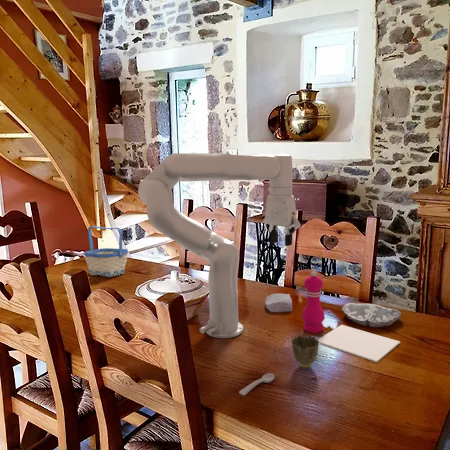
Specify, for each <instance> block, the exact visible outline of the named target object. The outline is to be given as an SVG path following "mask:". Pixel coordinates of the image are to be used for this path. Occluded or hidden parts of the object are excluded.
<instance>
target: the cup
mask: <svg viewBox="0 0 450 450" xmlns="http://www.w3.org/2000/svg"><path fill="white" fill-rule="evenodd" d="M318 339H319V338H316V336H311V335H308V337H305V335H304V334H303V335H300V334H298V335H297V336H294V337H292V339H291V347H292V353H293V354H292V355H293V357H294V360H295V361H296V362H297V363H298V366H299V367H300V368H301V369H302V370H309V369H310V368H312V365H313V363H314V362H315V361H316V359H317V357H318V351H319V345H320V344H319V341H318Z"/></svg>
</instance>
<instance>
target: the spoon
mask: <svg viewBox="0 0 450 450" xmlns="http://www.w3.org/2000/svg"><path fill="white" fill-rule="evenodd" d="M274 380H275V374H274V373H272V372H268V373H265V374H263V375H262V376H261V378H259V379H257V380H254V381H253V382H251V383H250V384H248V385H247V386H245V387H244V388H242V389H240V390H239V391H238V393H239V395H241V396H246V395H247V394H248V393H249V392H250V391H251V390H253V389H254V388H256V386H257V385H259V384H261V383H268V384H269V383H271V382H273V381H274Z"/></svg>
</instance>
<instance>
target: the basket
mask: <svg viewBox="0 0 450 450" xmlns="http://www.w3.org/2000/svg"><path fill="white" fill-rule="evenodd" d="M92 228H94V229H99V230H100V229H101V230H116V231H118V232H119V239H118V242H119V243H118V248H113V247H112V248H109V247H108V248H107V247H105V248H99V249H98V248H97V249H94V241H93V235H92ZM87 234H88V242H89V250H88V251H84V252H83V256H84V259H85V262H86V265H87V268H88V273H89V275H90V276H97V274H98V275H100V276H102V277H108V278H112V277H118V275H119V276H121V275H120V274H122V275H123V273H124V274H125V269H126V264H127V260H128V253H129V249H128V248H126V249H124V248H123V239H124V238H123V237H124V236H123V235H124V234H123V230H122V228H120V227H103V226H97V225H93V226H89V227H88V229H87ZM116 275H117V276H116Z"/></svg>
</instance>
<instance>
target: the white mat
mask: <svg viewBox="0 0 450 450" xmlns="http://www.w3.org/2000/svg"><path fill="white" fill-rule="evenodd" d="M317 339H318V341H319V345H323V346H326V347H329V348H332V349H334V350H339V351H341V352H344V353H347V354H350V355H353V356H356V357H359V358H363V359H365V360H369V361H371V362H374V363H378V362H379V361H380V360H382V359H383V358H384V357H385V356H387V355H388V354H389V353H390V352H391V351H392V350H394V349H395V348H396V347H398V345H399V344H401V341H399V340H396V339H392V338H390V337H386V336H382V335H378V334H375V333H371V332H368V331H366V330H365V331H364V330H362V329H358V328H354V327H352V326H347V325H345V324H340V325H339V326H337V327H335V328H334V329H332V330H331V331H329V332H327V333H326V334H324V335H323V336H321V337H320V338H317Z"/></svg>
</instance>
